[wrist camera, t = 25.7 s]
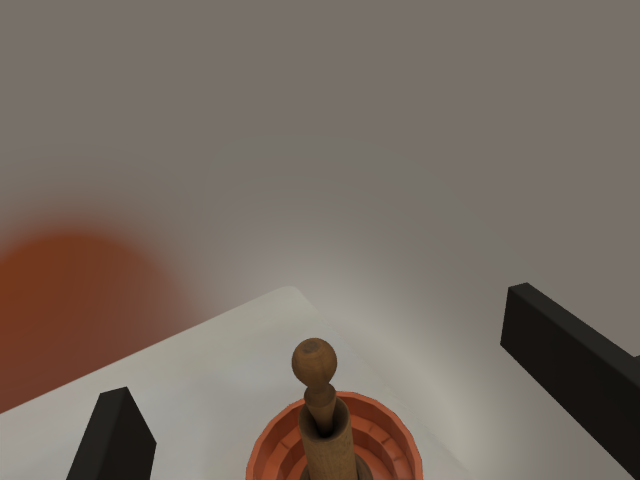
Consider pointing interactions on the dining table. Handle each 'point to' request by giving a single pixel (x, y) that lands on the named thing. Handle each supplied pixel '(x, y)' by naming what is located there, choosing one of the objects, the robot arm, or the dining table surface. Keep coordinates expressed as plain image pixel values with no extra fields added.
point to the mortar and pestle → (325, 418)
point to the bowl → (368, 439)
